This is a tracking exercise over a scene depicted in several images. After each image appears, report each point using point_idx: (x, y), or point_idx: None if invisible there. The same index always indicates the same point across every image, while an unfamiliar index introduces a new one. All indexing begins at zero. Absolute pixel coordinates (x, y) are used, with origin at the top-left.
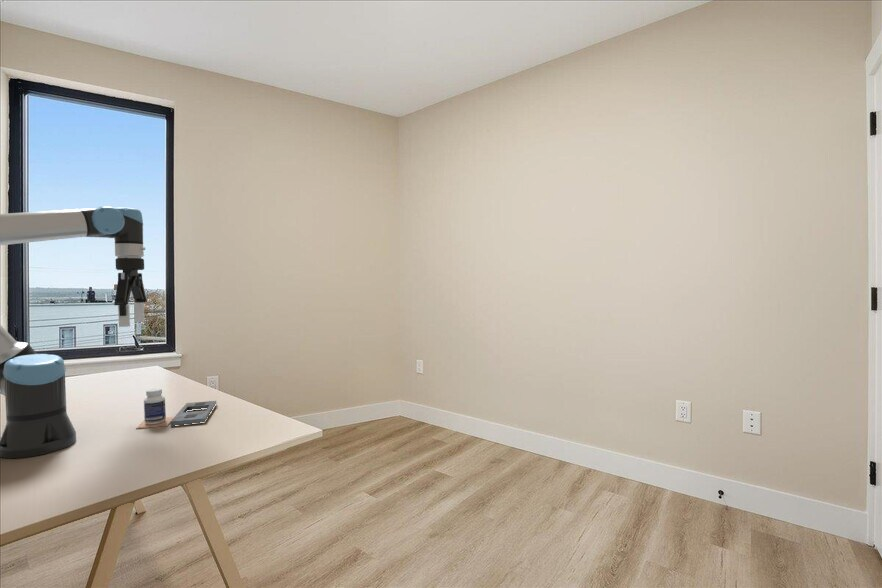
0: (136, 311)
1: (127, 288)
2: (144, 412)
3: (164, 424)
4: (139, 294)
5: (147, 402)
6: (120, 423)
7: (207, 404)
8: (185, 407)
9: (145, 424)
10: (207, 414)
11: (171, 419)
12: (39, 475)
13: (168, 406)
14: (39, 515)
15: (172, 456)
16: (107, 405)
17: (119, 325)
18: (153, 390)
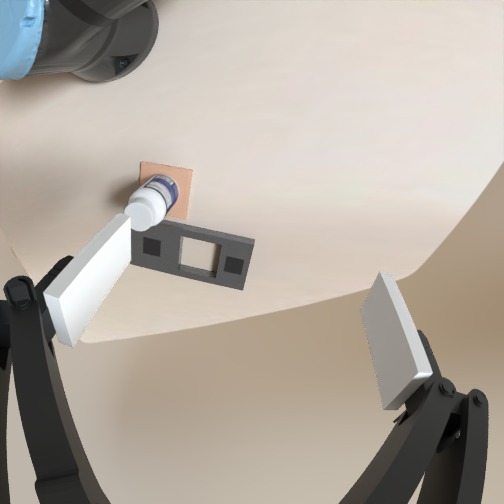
0: (391, 330)
1: (5, 442)
2: (148, 181)
3: None
4: (373, 464)
5: (130, 196)
6: (195, 127)
7: (220, 275)
8: (216, 241)
9: (155, 174)
10: (154, 269)
11: (169, 215)
12: (17, 94)
13: (290, 208)
14: None
15: (31, 220)
16: (383, 91)
17: (114, 219)
18: (132, 216)
